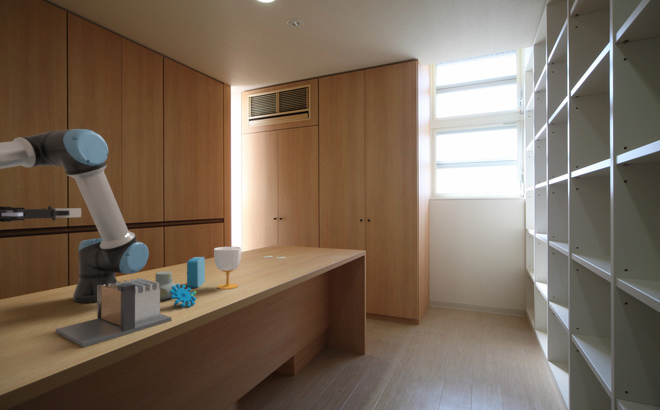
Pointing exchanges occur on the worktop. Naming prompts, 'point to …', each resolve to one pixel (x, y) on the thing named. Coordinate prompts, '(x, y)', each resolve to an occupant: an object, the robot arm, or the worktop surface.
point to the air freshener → (165, 284)
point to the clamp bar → (109, 304)
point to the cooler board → (106, 330)
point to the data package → (195, 272)
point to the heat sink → (144, 299)
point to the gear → (183, 295)
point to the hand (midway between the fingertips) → (79, 212)
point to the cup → (227, 262)
